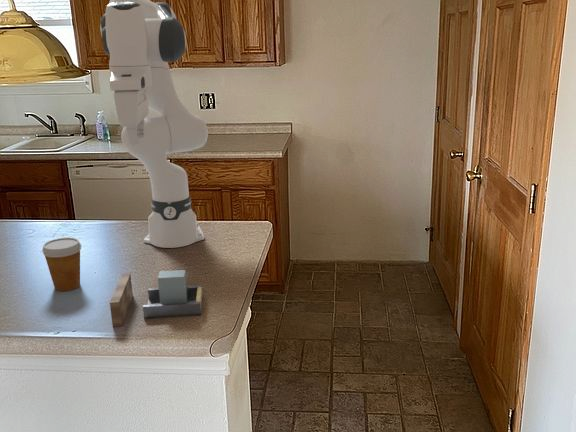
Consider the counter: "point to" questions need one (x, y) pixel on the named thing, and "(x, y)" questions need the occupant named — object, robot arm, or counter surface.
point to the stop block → (172, 286)
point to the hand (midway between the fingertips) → (137, 140)
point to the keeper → (174, 304)
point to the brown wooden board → (121, 300)
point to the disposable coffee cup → (63, 262)
